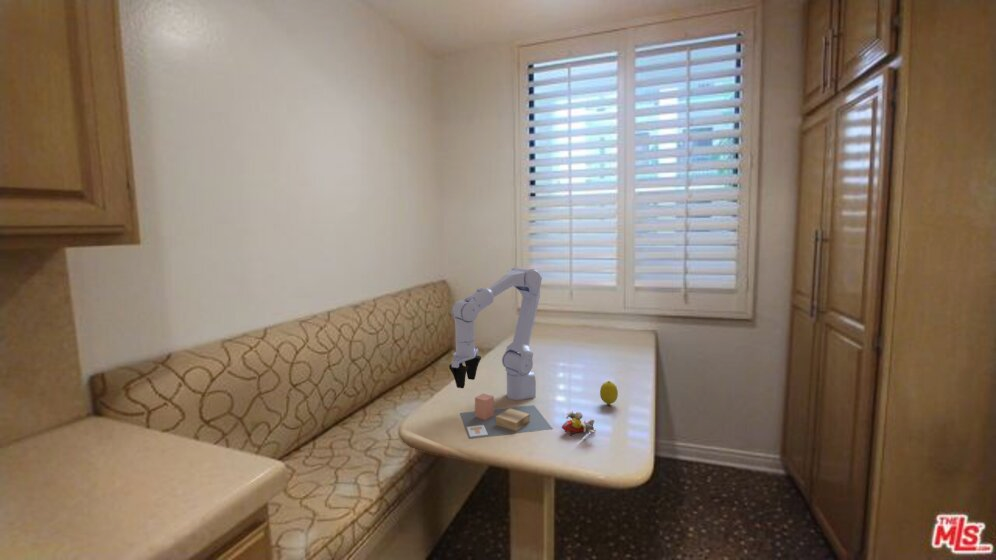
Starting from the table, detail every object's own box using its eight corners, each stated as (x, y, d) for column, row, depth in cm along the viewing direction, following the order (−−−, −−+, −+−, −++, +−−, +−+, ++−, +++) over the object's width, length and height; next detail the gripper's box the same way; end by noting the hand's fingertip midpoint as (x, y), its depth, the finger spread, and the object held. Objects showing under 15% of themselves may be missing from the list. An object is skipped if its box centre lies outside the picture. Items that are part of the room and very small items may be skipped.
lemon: (617, 402, 144) (618, 379, 143) (616, 409, 138) (617, 384, 138) (600, 400, 145) (601, 377, 145) (598, 407, 140) (599, 383, 139)
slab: (510, 416, 132) (510, 408, 132) (529, 422, 128) (529, 414, 128) (496, 424, 127) (496, 416, 126) (516, 431, 123) (516, 422, 122)
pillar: (483, 412, 135) (483, 393, 135) (493, 415, 133) (493, 396, 132) (475, 416, 132) (475, 397, 131) (485, 420, 130) (485, 400, 129)
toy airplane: (560, 438, 120) (560, 415, 120) (568, 424, 129) (568, 403, 128) (593, 444, 117) (594, 421, 116) (599, 429, 125) (600, 408, 124)
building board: (534, 407, 140) (534, 404, 140) (552, 431, 124) (552, 428, 124) (459, 415, 135) (459, 412, 135) (468, 441, 119) (468, 438, 118)
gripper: (463, 333, 141) (464, 374, 143) (441, 345, 128) (443, 389, 130) (483, 335, 139) (484, 376, 140) (463, 347, 125) (464, 393, 127)
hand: (466, 383), depth 135 cm, fingers open, 7 cm apart
